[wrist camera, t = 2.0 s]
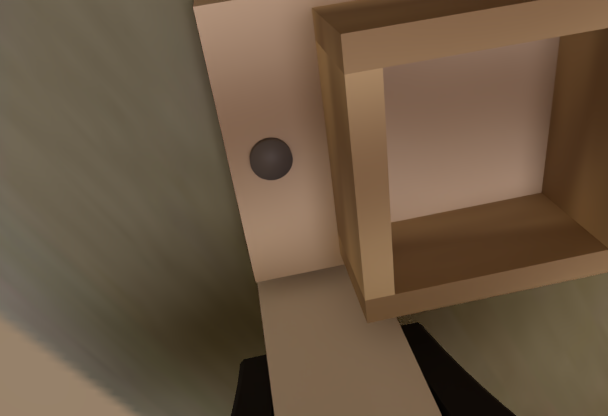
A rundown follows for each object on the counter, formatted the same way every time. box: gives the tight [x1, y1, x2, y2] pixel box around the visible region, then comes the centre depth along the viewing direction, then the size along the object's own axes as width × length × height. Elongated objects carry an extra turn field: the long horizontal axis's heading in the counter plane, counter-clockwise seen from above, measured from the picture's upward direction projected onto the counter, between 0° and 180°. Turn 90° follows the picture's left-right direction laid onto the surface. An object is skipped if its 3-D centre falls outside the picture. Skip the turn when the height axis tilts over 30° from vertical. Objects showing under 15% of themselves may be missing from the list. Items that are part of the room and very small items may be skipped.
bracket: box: [193, 0, 608, 323], centre depth 11 cm, size 6×10×4 cm, turn 97°
